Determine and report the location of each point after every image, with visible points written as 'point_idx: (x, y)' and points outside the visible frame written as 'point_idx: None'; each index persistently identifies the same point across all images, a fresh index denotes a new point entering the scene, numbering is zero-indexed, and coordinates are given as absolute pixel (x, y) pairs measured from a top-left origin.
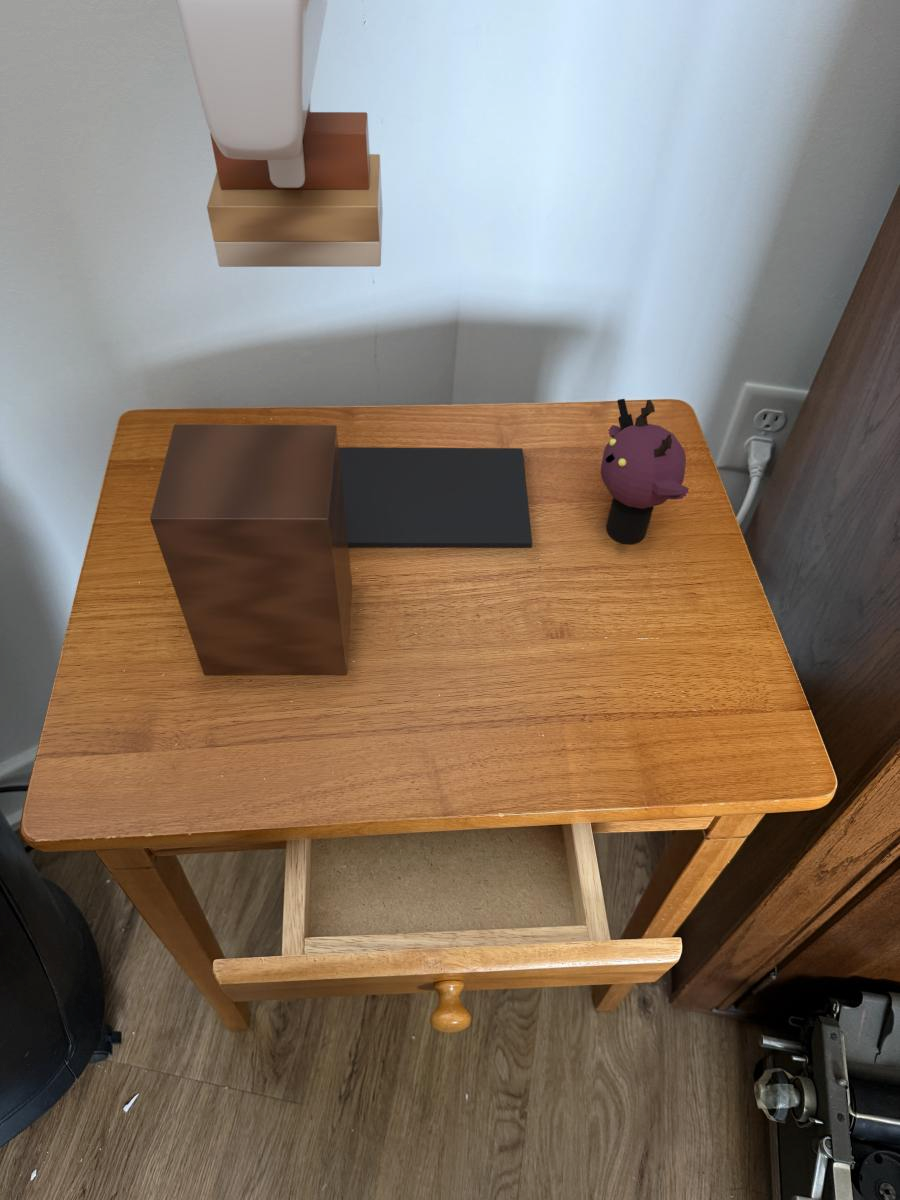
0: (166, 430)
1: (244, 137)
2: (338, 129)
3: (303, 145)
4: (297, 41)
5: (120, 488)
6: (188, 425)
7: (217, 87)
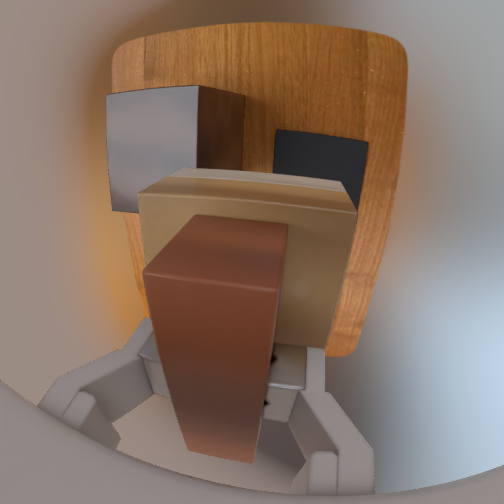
0: (396, 61)
1: None
2: (192, 438)
3: (165, 395)
4: None
5: (338, 31)
6: (196, 97)
7: None
